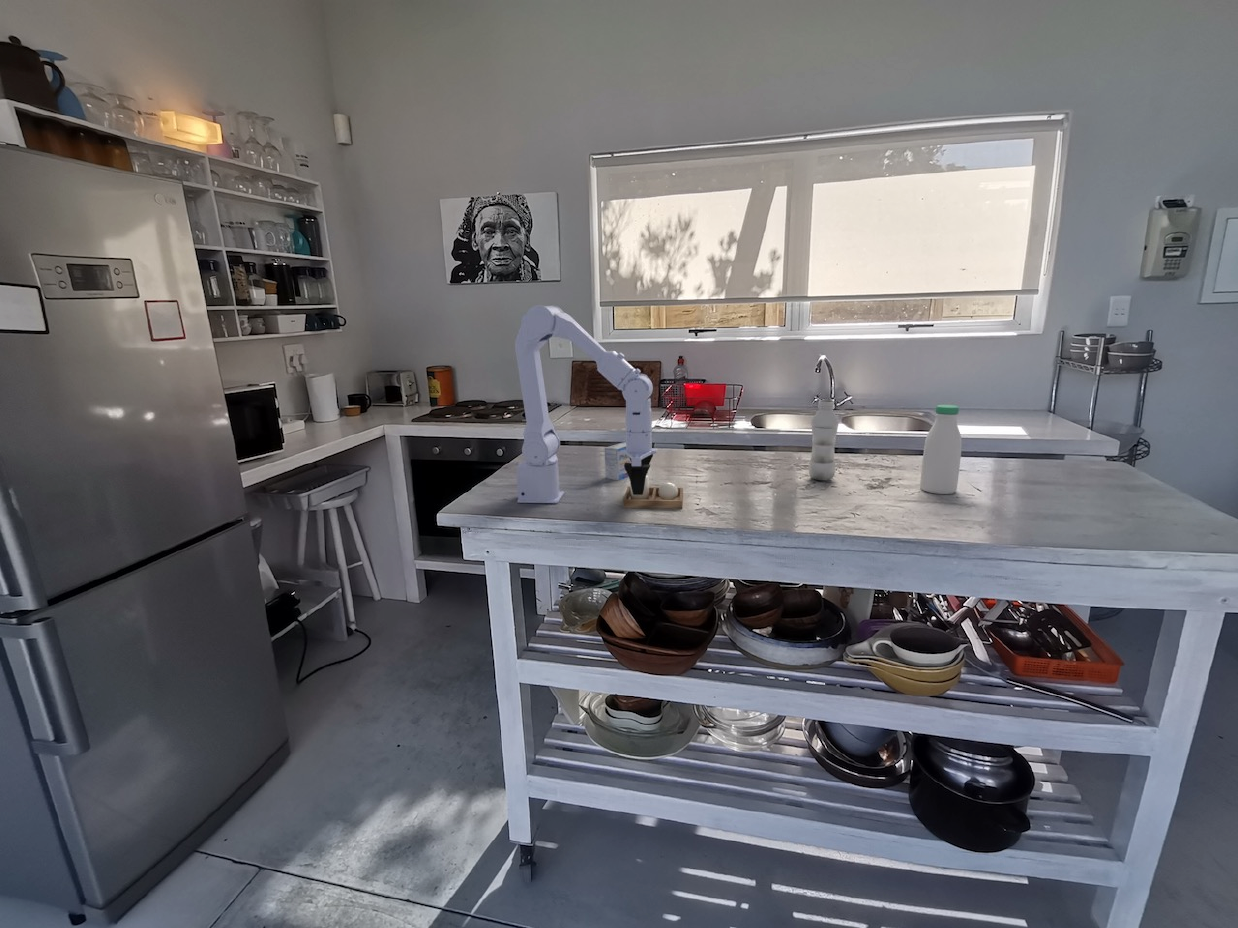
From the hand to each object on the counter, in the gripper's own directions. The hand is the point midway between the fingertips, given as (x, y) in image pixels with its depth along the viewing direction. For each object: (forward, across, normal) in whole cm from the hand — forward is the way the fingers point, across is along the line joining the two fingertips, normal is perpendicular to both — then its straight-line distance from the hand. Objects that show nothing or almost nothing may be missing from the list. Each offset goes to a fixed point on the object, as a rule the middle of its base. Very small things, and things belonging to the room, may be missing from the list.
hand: (639, 489), depth 138 cm
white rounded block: (+3, 0, 0) cm, 3 cm away
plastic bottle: (+3, +21, -44) cm, 49 cm away
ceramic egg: (+3, 0, -6) cm, 7 cm away
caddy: (+3, 0, -3) cm, 5 cm away
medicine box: (+3, +21, +7) cm, 22 cm away
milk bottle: (+3, +13, -69) cm, 71 cm away
